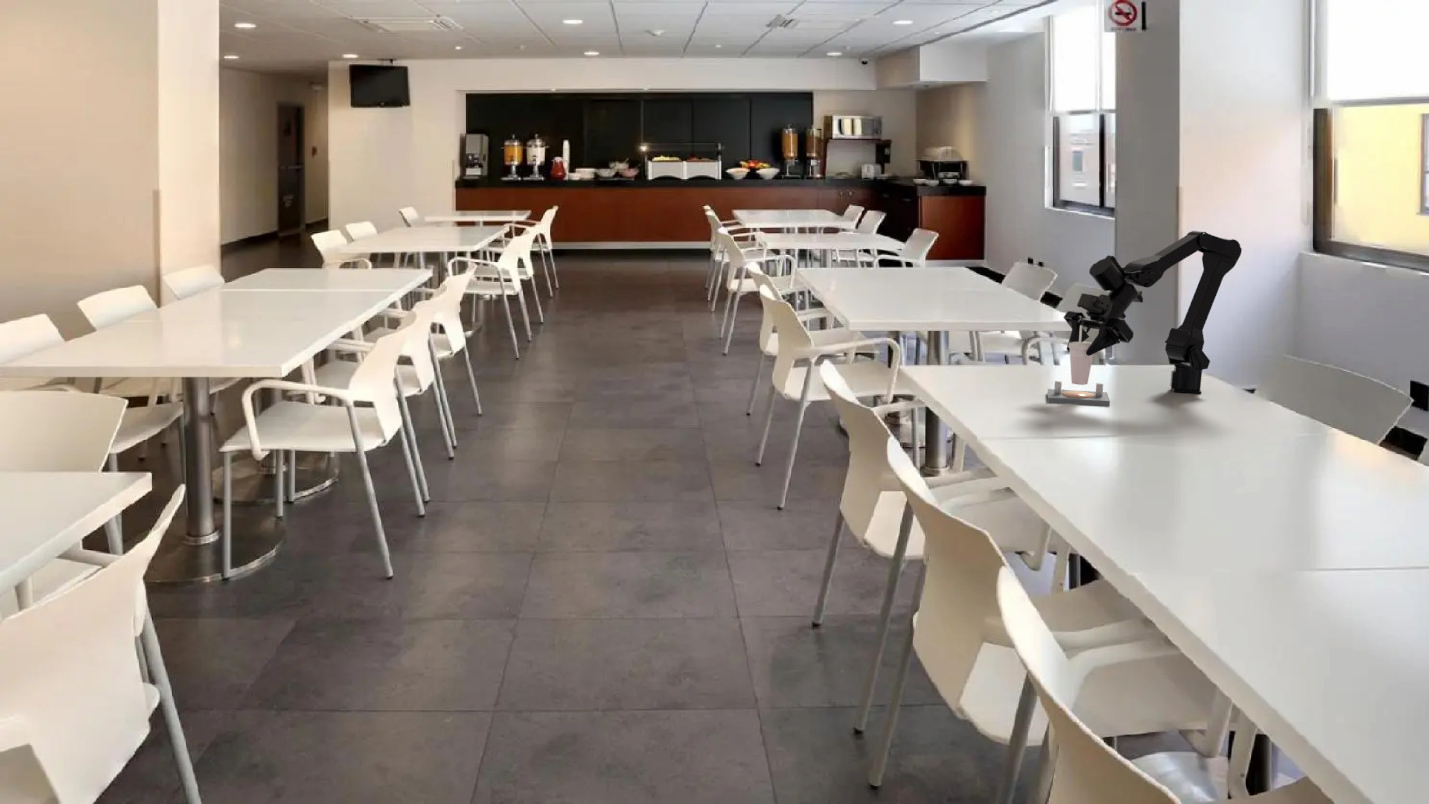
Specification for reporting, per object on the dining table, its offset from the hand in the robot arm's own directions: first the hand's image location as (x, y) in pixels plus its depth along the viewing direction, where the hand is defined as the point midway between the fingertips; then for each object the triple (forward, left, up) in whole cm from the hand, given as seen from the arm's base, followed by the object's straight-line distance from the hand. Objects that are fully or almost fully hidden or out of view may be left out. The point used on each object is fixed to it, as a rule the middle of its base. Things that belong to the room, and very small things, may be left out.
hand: (1077, 352), depth 292 cm
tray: (-1, -1, -12) cm, 12 cm away
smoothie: (-1, -1, -8) cm, 8 cm away
